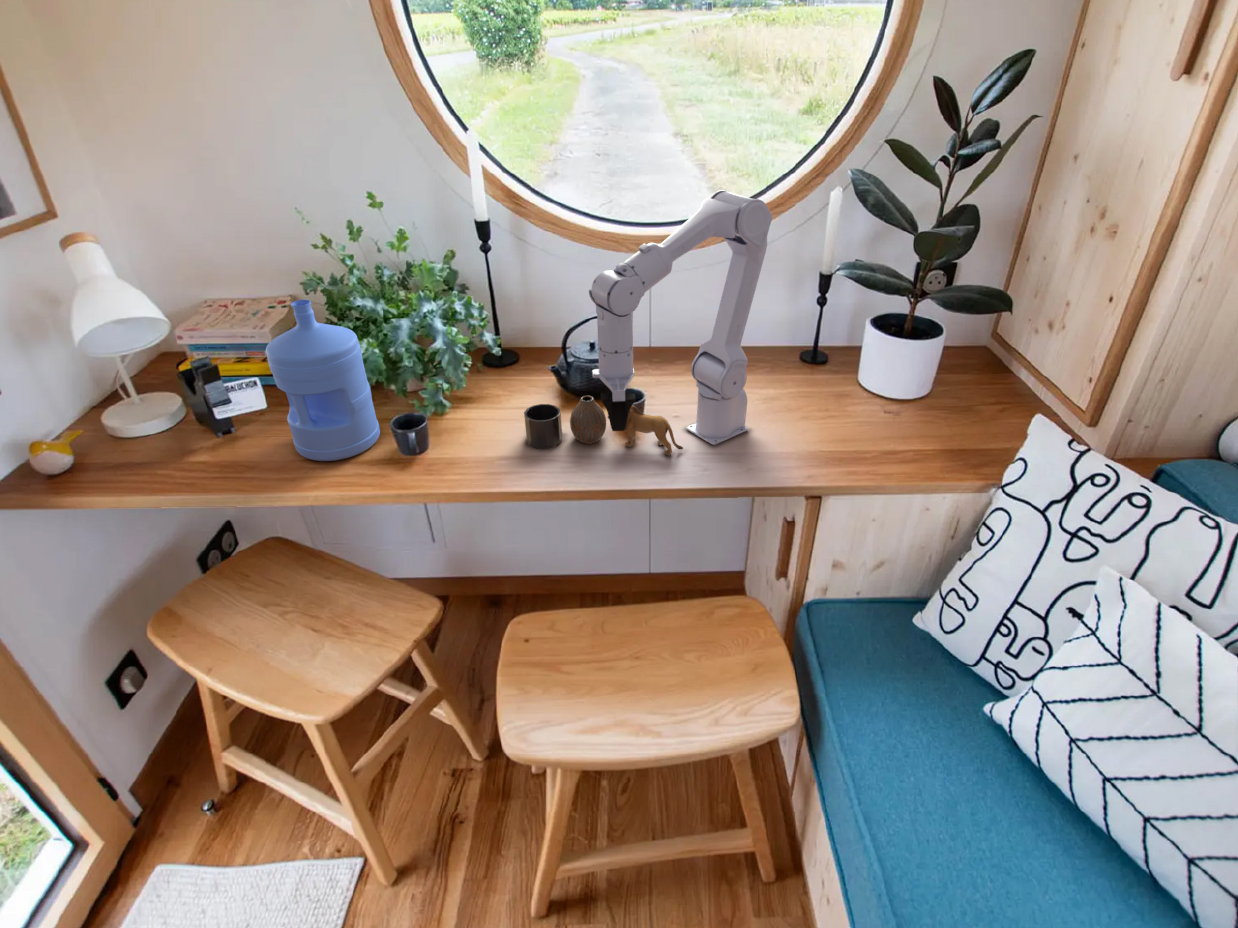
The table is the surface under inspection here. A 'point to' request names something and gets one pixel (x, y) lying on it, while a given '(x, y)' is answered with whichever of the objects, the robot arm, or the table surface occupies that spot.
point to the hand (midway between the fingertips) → (616, 418)
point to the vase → (588, 421)
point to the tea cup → (543, 426)
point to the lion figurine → (649, 428)
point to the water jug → (323, 387)
